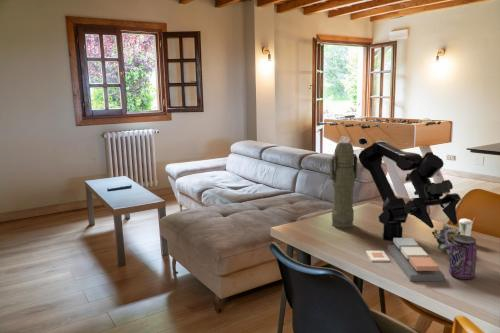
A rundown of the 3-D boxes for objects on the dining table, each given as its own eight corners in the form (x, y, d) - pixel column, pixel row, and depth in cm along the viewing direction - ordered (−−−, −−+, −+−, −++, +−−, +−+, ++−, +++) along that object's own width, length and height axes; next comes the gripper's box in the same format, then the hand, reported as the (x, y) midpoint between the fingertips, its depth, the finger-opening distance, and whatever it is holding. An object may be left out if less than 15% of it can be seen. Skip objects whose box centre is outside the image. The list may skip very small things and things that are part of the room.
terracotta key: (409, 261, 130) (409, 257, 130) (430, 261, 130) (430, 257, 129) (416, 270, 124) (416, 266, 123) (438, 270, 123) (438, 266, 123)
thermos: (324, 224, 176) (325, 143, 170) (347, 220, 181) (349, 141, 174) (337, 230, 168) (339, 145, 162) (360, 226, 173) (363, 143, 167)
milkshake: (474, 245, 150) (477, 219, 148) (459, 244, 151) (461, 218, 150) (471, 240, 155) (473, 215, 153) (455, 240, 156) (457, 214, 154)
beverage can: (444, 271, 130) (446, 235, 128) (465, 269, 131) (468, 233, 129) (457, 281, 123) (460, 243, 121) (479, 280, 124) (483, 242, 122)
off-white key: (400, 251, 138) (400, 247, 138) (420, 251, 138) (420, 247, 138) (407, 259, 132) (407, 254, 132) (427, 259, 132) (428, 254, 131)
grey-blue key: (393, 241, 147) (393, 238, 146) (411, 241, 146) (411, 237, 146) (398, 248, 140) (399, 244, 140) (418, 248, 140) (418, 244, 140)
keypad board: (387, 250, 147) (387, 244, 147) (415, 250, 147) (416, 244, 147) (410, 281, 124) (410, 275, 124) (444, 281, 123) (444, 275, 123)
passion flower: (452, 270, 143) (443, 249, 137) (429, 253, 152) (420, 233, 146) (476, 250, 144) (468, 228, 138) (452, 234, 153) (443, 213, 147)
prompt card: (366, 252, 146) (366, 250, 146) (383, 252, 146) (383, 250, 146) (371, 261, 138) (371, 259, 138) (389, 261, 138) (389, 259, 138)
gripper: (411, 174, 131) (434, 217, 123) (458, 169, 137) (483, 210, 129) (395, 192, 140) (415, 233, 132) (440, 187, 146) (462, 226, 137)
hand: (444, 226), depth 132 cm, fingers open, 9 cm apart
